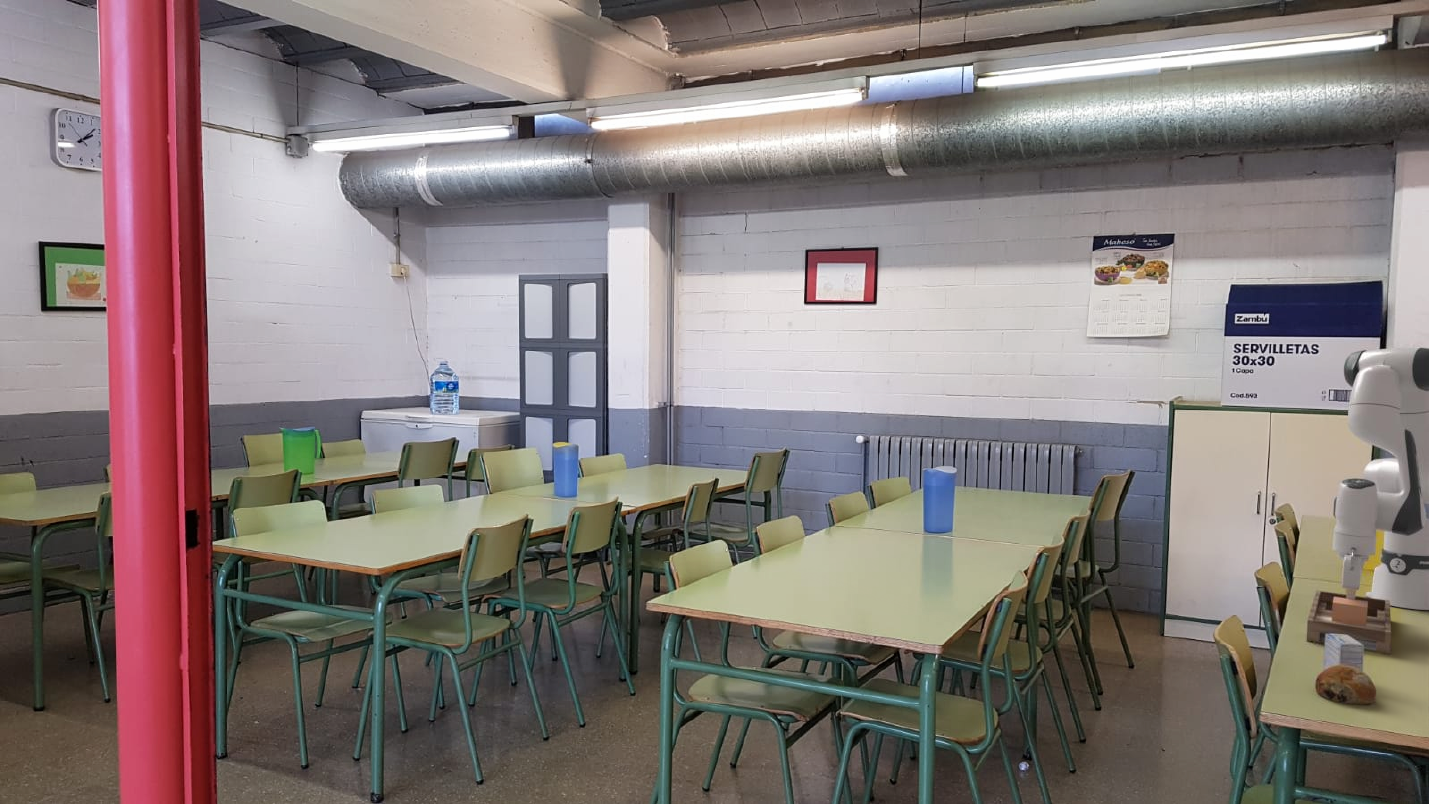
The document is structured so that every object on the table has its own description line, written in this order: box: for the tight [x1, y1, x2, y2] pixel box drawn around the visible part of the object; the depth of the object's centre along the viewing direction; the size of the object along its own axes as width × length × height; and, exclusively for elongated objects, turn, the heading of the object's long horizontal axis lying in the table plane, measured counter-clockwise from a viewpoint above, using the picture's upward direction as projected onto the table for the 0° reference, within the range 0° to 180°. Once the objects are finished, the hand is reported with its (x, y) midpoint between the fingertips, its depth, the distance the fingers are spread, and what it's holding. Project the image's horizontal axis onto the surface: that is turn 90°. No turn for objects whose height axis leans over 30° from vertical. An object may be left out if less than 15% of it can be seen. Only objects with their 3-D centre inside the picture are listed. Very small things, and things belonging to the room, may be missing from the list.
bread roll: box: [1314, 665, 1377, 706], centre depth 193 cm, size 10×10×8 cm
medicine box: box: [1322, 634, 1365, 672], centre depth 203 cm, size 8×4×9 cm, turn 168°
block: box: [1332, 597, 1368, 626], centre depth 241 cm, size 7×7×4 cm
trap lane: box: [1306, 590, 1392, 655], centre depth 241 cm, size 36×16×5 cm, turn 146°
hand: (1350, 600), depth 245 cm, fingers closed
